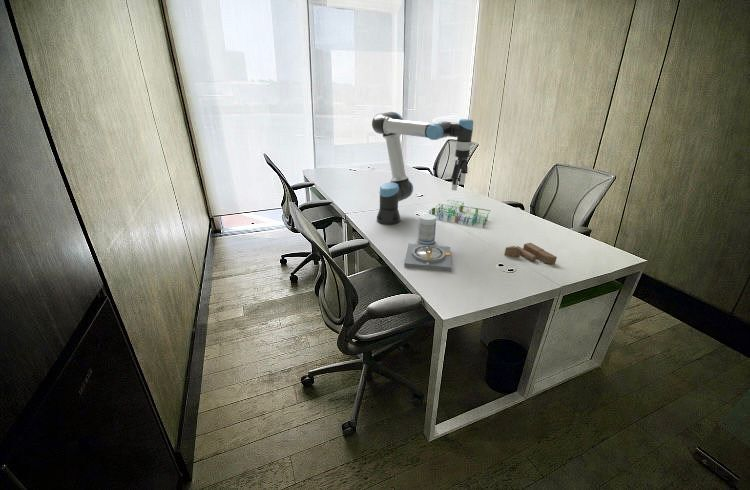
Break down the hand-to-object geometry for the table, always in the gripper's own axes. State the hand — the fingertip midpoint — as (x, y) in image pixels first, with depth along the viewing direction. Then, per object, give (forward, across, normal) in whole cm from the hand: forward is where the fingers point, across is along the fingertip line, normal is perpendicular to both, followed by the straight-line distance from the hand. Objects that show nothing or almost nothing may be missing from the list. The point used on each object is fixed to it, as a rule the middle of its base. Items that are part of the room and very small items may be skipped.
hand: (458, 187), depth 190 cm
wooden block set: (+26, -17, -46) cm, 55 cm away
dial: (+24, -45, -3) cm, 51 cm away
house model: (+26, +25, +4) cm, 36 cm away
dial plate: (+26, -43, -3) cm, 51 cm away
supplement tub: (+26, -26, +7) cm, 37 cm away
